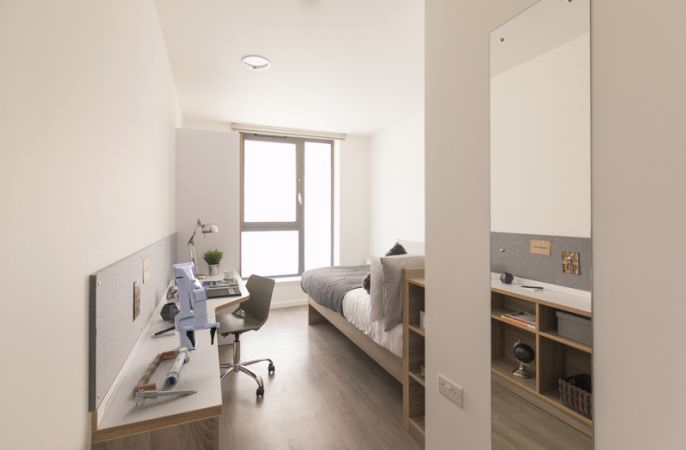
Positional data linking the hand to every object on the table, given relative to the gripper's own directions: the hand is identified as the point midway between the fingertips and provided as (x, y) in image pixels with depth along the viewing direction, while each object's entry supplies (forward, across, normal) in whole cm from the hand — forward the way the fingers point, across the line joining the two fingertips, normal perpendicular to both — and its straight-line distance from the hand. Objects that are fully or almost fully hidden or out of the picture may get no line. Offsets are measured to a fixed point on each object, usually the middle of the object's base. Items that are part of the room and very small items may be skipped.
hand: (203, 345), depth 149 cm
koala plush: (+10, -20, +72) cm, 75 cm away
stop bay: (+9, -19, 0) cm, 21 cm away
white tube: (+10, -11, 0) cm, 15 cm away
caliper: (+10, -10, -23) cm, 27 cm away
